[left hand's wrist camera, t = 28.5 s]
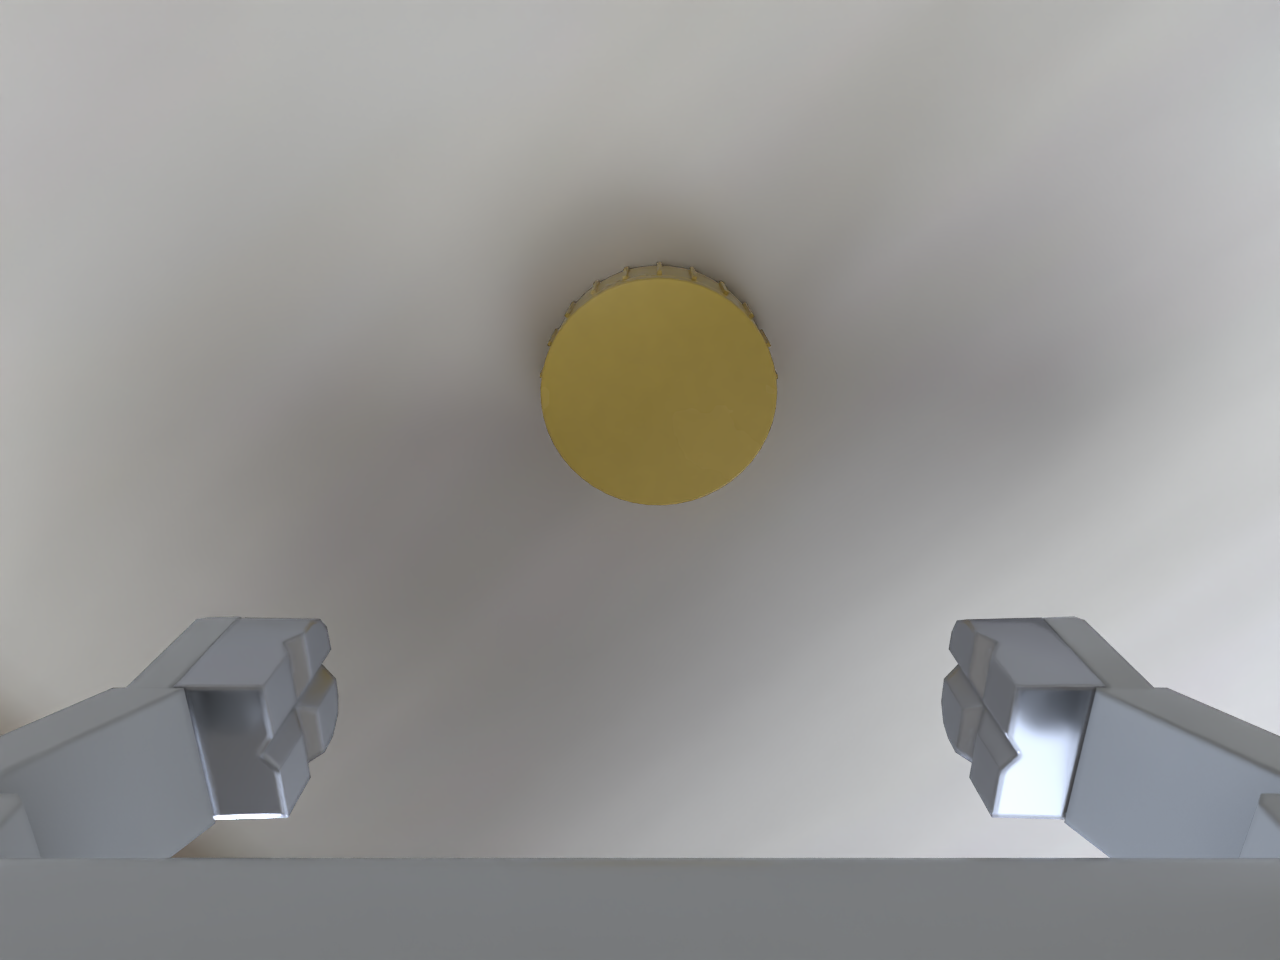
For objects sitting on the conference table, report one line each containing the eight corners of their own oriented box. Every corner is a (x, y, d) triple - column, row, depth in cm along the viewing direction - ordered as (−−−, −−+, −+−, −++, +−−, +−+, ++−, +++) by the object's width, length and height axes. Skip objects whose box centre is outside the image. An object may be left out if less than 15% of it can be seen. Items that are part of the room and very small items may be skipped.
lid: (626, 513, 21) (623, 547, 20) (503, 341, 20) (488, 361, 18) (808, 408, 20) (823, 434, 18) (695, 214, 18) (699, 222, 17)
